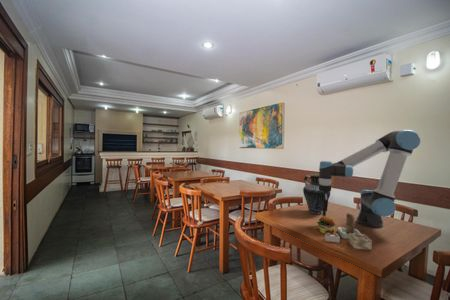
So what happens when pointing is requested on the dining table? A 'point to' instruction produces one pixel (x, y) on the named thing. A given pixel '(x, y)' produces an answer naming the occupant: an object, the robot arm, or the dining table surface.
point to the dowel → (350, 223)
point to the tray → (343, 232)
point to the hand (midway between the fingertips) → (323, 220)
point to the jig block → (360, 241)
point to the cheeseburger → (326, 225)
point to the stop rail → (332, 237)
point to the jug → (313, 194)
